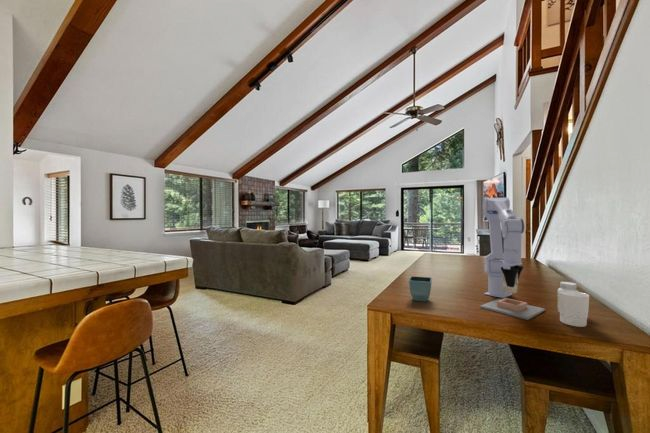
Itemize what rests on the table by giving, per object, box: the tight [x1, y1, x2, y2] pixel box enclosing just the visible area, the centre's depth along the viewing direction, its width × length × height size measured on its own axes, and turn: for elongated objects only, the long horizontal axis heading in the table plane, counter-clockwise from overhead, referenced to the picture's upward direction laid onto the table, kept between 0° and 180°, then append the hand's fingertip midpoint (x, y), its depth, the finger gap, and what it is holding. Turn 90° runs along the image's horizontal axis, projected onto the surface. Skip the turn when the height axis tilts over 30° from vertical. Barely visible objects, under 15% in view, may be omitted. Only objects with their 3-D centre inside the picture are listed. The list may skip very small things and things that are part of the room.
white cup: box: [557, 290, 590, 328], centre depth 97 cm, size 8×8×10 cm
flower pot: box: [408, 275, 433, 303], centre depth 123 cm, size 9×9×9 cm
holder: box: [480, 297, 546, 321], centre depth 111 cm, size 16×16×3 cm
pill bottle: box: [556, 281, 580, 313], centre depth 106 cm, size 6×6×11 cm
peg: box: [503, 273, 519, 294], centre depth 111 cm, size 4×4×7 cm
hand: (512, 285), depth 111 cm, fingers closed on peg, 4 cm apart
